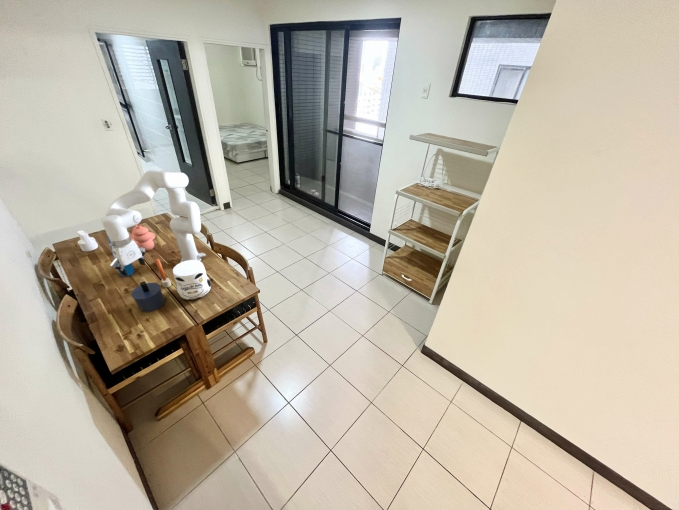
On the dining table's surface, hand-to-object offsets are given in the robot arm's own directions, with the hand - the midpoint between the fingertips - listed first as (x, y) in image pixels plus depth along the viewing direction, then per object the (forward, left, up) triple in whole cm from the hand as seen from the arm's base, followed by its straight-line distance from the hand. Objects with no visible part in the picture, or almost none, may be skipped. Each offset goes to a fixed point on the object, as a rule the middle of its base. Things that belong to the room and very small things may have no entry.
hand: (134, 269), depth 138 cm
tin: (-2, +2, -23) cm, 23 cm away
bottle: (+13, -34, -23) cm, 43 cm away
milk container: (-24, +1, -23) cm, 33 cm away
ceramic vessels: (+8, -71, -23) cm, 75 cm away
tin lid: (-2, +2, -14) cm, 14 cm away
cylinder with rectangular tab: (+39, -75, -23) cm, 88 cm away
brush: (-9, -12, -23) cm, 27 cm away
